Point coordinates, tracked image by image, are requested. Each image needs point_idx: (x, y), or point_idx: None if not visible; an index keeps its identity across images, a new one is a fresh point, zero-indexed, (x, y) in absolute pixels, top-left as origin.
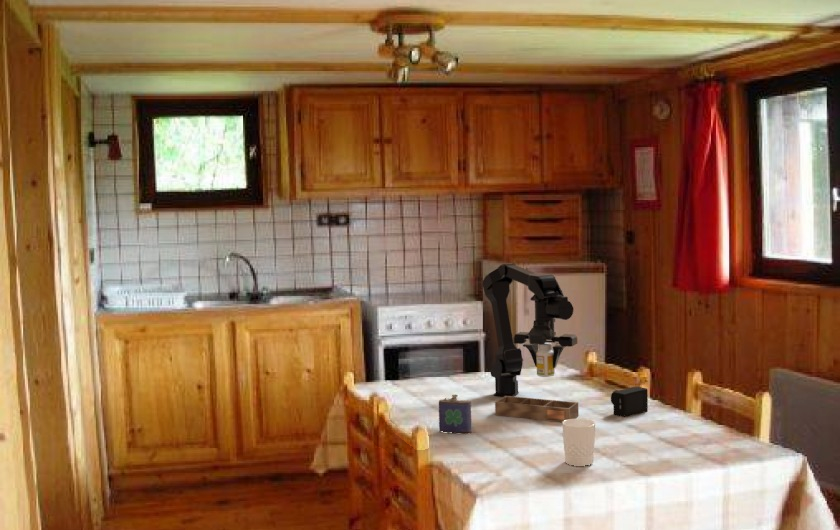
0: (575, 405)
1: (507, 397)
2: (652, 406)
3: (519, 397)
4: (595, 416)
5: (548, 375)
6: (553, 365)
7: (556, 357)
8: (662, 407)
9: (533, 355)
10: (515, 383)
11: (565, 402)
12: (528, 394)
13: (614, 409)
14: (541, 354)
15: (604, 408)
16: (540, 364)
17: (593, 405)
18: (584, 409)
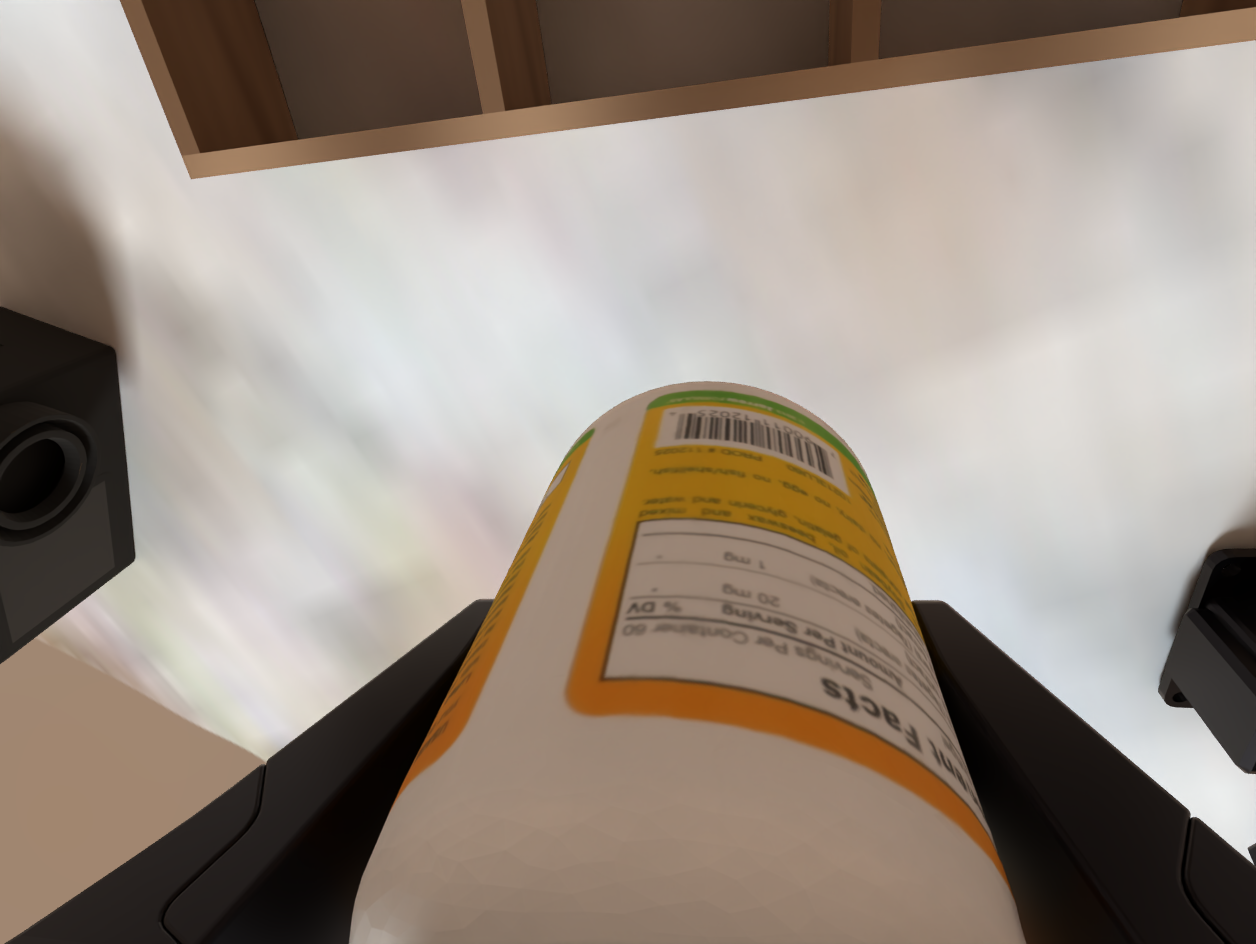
0: (151, 52)
1: None
2: (113, 636)
3: (1038, 47)
4: (172, 226)
5: (589, 426)
6: (478, 627)
7: (257, 776)
8: (58, 633)
9: (1131, 849)
10: (1252, 703)
11: (331, 135)
12: (1050, 684)
13: (61, 360)
14: (673, 790)
15: (293, 496)
16: (737, 510)
17: (409, 545)
18: (392, 411)
